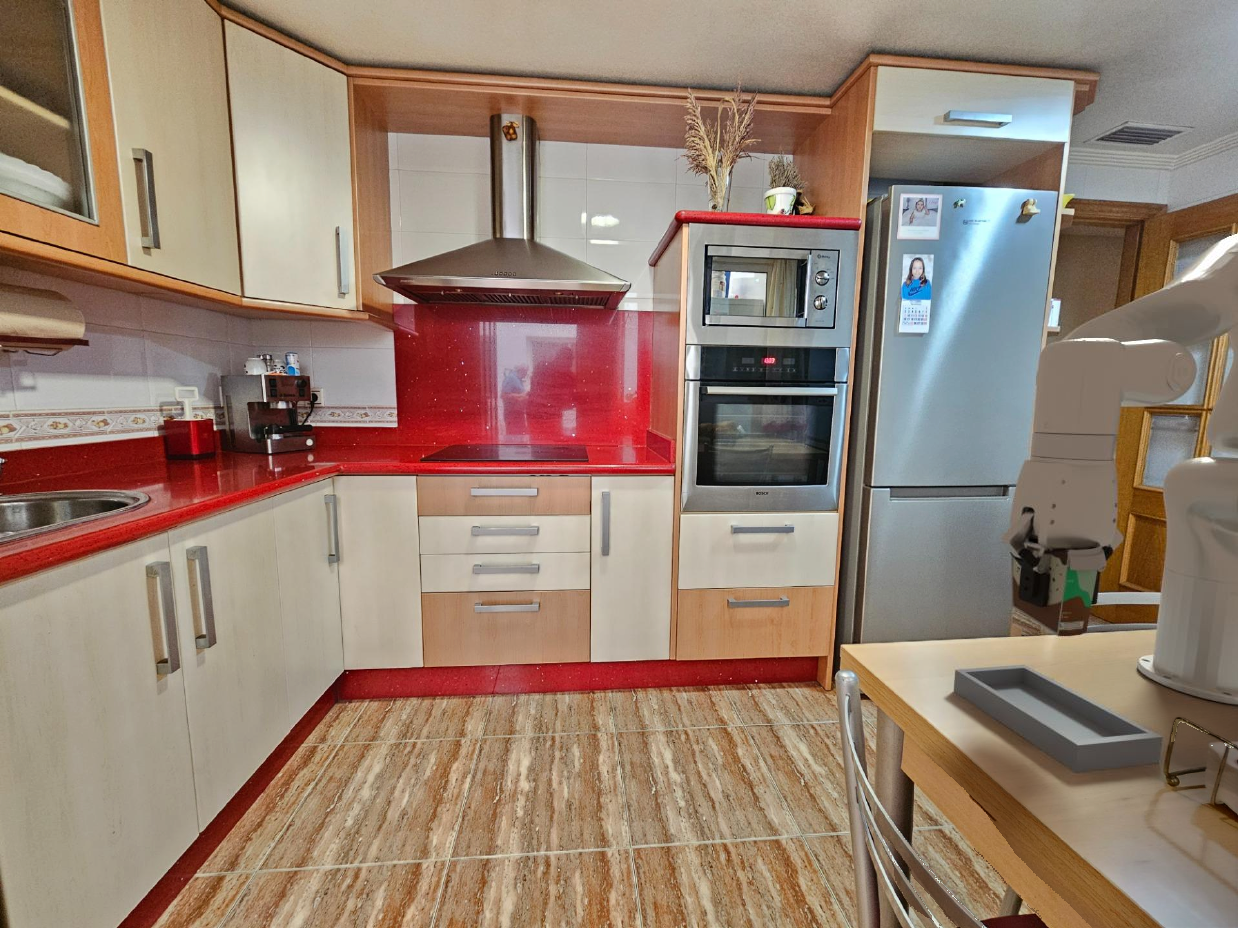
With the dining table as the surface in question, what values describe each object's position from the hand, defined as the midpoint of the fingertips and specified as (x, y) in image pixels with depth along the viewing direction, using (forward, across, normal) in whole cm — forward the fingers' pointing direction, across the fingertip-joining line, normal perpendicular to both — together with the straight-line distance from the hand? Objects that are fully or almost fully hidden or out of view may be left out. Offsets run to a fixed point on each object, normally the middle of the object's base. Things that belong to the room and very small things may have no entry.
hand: (1056, 600), depth 64 cm
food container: (+3, -1, 0) cm, 3 cm away
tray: (+15, 0, 0) cm, 15 cm away
